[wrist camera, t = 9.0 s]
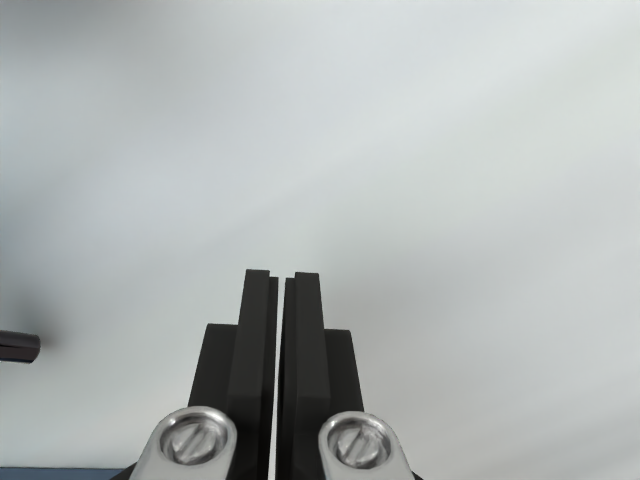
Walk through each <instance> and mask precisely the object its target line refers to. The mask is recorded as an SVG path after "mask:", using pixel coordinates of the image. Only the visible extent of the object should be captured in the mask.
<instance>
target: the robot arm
mask: <svg viewBox="0 0 640 480" xmlns="http://www.w3.org/2000/svg"><path fill="white" fill-rule="evenodd" d="M269 274H270V271H269V270H252V269H246V275H245V281H244V288H243V295H242V302H241V308H240V315H239V322H238V325H231V324H209V323H208V325H207V327H206V331H205V335H204V339H203V344H202V348H201V352H200V356H199V360H198V365H197V369H196V373H195V377H194V381H193V386H192V390H191V394H190V398H189V402H188V407H187V408H182V409H179V410H177V411H175V412H173V413H171V414H169V415H168V416H166V417H165V418H164V419H163V420H161V421H160V422H159V423H158V425H157V426H156V428H155V429H154V430H153V432H152V434H151V436H150V438H149V440H148V442H147V444H146V446H145V448H144V450H143V452H142V454H141V456H140V458H139V460H138V461H137V462H136V463H134V464H133V465H131V466H130V467H128V468H126V469H125V470H123V471H122V472H120V473H119V474H117V475H115V476H114V477H112V478H111V479H109V480H268V470H269V456H270V443H271V430H272V416H273V402H274V383H275V357H276V331H277V305H278V279H279V277H269ZM275 480H423V479H422V478H421V477H419V476H418V475H417V474H415V473H414V472H413V471H411V469H410V467H409V464H408V462H407V459H406V457H405V454H404V452H403V450H402V447H401V445H400V442H399V440H398V438H397V436H396V434H395V433H394V431H393V430H392V428H391V427H390V426H389V425H387V424H386V423H385V422H384V421H383V420H381V419H379V418H377V417H376V416H374V415H371V414H368V413H364V407H363V402H362V396H361V390H360V384H359V378H358V372H357V366H356V360H355V354H354V348H353V343H352V337H351V333H350V331H349V330H337V329H324V323H323V312H322V302H321V291H320V281H319V274H318V273H304V272H295V278H286V282H285V295H284V308H283V320H282V333H281V346H280V359H279V373H278V400H277V433H276V466H275Z"/></svg>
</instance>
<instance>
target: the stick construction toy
mask: <svg viewBox="0 0 640 480" xmlns="http://www.w3.org/2000/svg"><path fill="white" fill-rule="evenodd" d="M40 347H41V342H40V339H39V337H38V336H37V335H34V334H27V333H20V332H13V331H6V330H0V362H10V363H21V364H30V363H32V362H33V361H34V360H35V359H36V358H37V356H38V354H39V352H40Z"/></svg>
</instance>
